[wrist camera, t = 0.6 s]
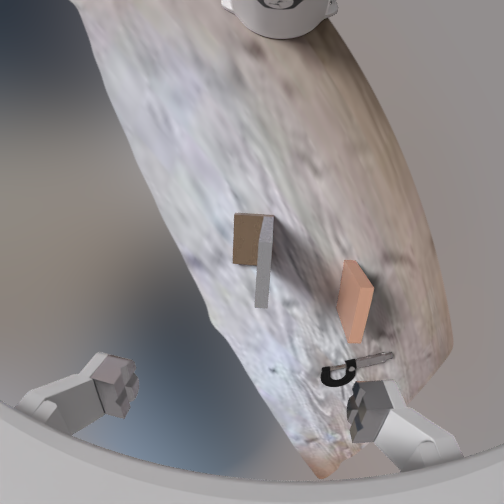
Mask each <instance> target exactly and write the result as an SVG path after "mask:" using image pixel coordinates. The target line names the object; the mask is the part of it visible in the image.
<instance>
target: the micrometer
mask: <svg viewBox="0 0 504 504" xmlns="http://www.w3.org/2000/svg"><path fill="white" fill-rule="evenodd" d="M392 358H393V354H392V352H390V353H388V354H384V352H382V353H379V354H374V355H369V356H366V357H361V358H357V359H356V360H355V359H352V360H347V361H345V364H342V365H337V366H332V367H330V366H329V367H323V368H322V373H321V381H322V383H323V384H324V385H326V386H329V387H339V386H343V385H345V384H347V383H349V382H350V381H351V380H352V379H353V378H354V376H355V369H356V368H357V367H358V368H361V367H366V366H371V365H375V364H379V363H384V362H385V361H386V359H392ZM342 368H346V375H345V376H344V377H343V378H342V379H339V380H333V379H331V378H330V371H332V370H337V369H342Z"/></svg>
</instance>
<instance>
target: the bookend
mask: <svg viewBox="0 0 504 504" xmlns="http://www.w3.org/2000/svg"><path fill="white" fill-rule="evenodd" d="M273 221H274V215H264V214H248V213H235V214H234V240H233V264H244V265H257V277H256V293H255V308H267V307H268V295H269V282H270V269H271V256H272V243H273Z"/></svg>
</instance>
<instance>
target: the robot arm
mask: <svg viewBox="0 0 504 504" xmlns="http://www.w3.org/2000/svg"><path fill="white" fill-rule="evenodd" d="M221 3H222V7H223V8H224V9H225V10H227V11H229V12H231V13H233V14H235V15H236V16H237V17H238V18H239V19H240V21H241V22H242V23H243V24H244V25H245V26H246V27H247V28H248V29H250V30H251V31H253V32H255V33H257V34H259V35H262V36H265V37H269V38H276V39H287V38H294V37H298V36H301V35H304V34H306V33H308V32H310V31H311V30H313V29H314V28H315V27H316V26H317V25H318V24H319V23H320V22H321V21H322V20H323V19H325V18H328V17H330V16H333V15H335V14H336V13H337V11H338V6H337V2H336V0H222V1H221ZM330 3H331V4H330ZM135 369H136V366H135V362H134V361H133V360H130V359H126V358H122V357H118V356H114V355H109V354H106V353H102V352H99V353H96V354H95V356H94V357H93V358H92V359H91V360H90V362H89V363H88V364H87V365H86V366H85V367H84V369H83V370H82V371H81V372H80V373H79V375H78V374H74V375H71V376H68V377H66V378H63V379H61V380H58V381H55V382H52V383H50V384H47V385H44V386H41V387H39V388H36V389H33V390H30V391H29V392H28V393H27V394H26V395H25V396H24V397H23V398H22V399H21V401H20V402H19V403H18V404H17V405H16V406H15V407H14V408H13V407H11V406H10V405H8V404H6V403H4V402H3V401H1V400H0V504H504V444H502V445H499V446H496V447H494V448H491V449H488V450H486V451H483V452H480V453H477V454H474V455H470V456H467V457H464V456H463V454H462V452H461V450H460V448H459V446H458V443H457V441H456V439H455V437H454V436H453V435H452V434H450V433H449V432H447V431H446V430H444V429H443V428H441V427H440V426H438V425H437V424H435V423H433V422H432V421H430V420H429V419H427V418H426V417H424V416H423V415H421V414H420V413H418V412H417V411H415V410H414V409H412V408H411V407H408V408H407V406H406V404H405V401H404V399H403V397H402V395H401V393H400V390H399V388H398V386H397V384H396V382H395V380H393V379H390V380H381V381H380V380H378V381H356V382H355V383H354V385H353V388H352V391H353V395H352V396H351V397H350V398H349V400H348V404H347V420H348V422H349V423H350V424H352V425H351V428H350V434H351V439H352V443H365V442H374V444H375V445H376V446H377V447H378V448H379V449H380V450H381V451H382V452H383V453H384V454H385V455H386V456H387V457H388V458H389V459H390V460H391V461H392V462H393V463H394V464H395V465H396V466H397V467H398V468H399V469H400V470H401V471H400V473H395V474H389V475H382V476H374V477H365V478H356V479H344V480H326V481H276V480H258V479H245V478H236V477H227V476H220V475H212V474H206V473H200V472H194V471H188V470H184V469H179V468H174V467H169V466H164V465H160V464H156V463H152V462H148V461H145V460H141V459H137V458H134V457H130V456H127V455H123V454H120V453H117V452H114V451H111V450H108V449H105V448H102V447H99V446H97V445H94V444H91V443H88V442H86V441H83V440H81V439H78V438H76V437H73V436H72V435H73V434H74V433H76V432H78V431H79V430H81V429H83V428H84V427H86V426H88V425H89V424H91V423H92V422H94V421H95V420H97V419H99V418H100V417H102V416H103V415H105V414H108V415H112V416H115V417H119V418H123V419H124V418H125V416H126V415H127V413H128V411H129V409H130V403H129V402H131V401H133V400H135V398H136V396H137V394H138V389H139V380H138V377H137V376H136V375H135V373H134V371H135Z"/></svg>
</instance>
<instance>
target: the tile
mask: <svg viewBox="0 0 504 504" xmlns="http://www.w3.org/2000/svg"><path fill="white" fill-rule="evenodd" d="M373 292H374V287H373V285H372V284H371V282H370V281H369V279H368V278H367V276H366V275H365V274H364V272H363V271H362V269H361V268H360V266H359V265H358V263H357V262H356V261H353V260H344V266H343V272H342V278H341V284H340V290H339V295H338V301H337V306H336V309H337V312H338V315H339V318H340V320H341V323H342V326H343V329H344V332H345V335H346V338H347V341H348V343H361V341H362V337H363V334H364V330H365V326H366V322H367V318H368V314H369V310H370V305H371V301H372V297H373Z"/></svg>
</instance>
